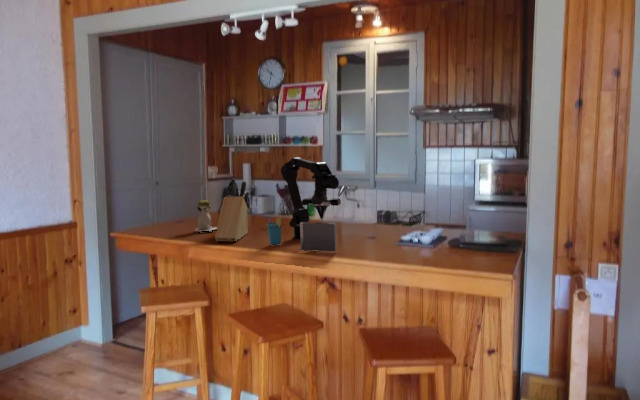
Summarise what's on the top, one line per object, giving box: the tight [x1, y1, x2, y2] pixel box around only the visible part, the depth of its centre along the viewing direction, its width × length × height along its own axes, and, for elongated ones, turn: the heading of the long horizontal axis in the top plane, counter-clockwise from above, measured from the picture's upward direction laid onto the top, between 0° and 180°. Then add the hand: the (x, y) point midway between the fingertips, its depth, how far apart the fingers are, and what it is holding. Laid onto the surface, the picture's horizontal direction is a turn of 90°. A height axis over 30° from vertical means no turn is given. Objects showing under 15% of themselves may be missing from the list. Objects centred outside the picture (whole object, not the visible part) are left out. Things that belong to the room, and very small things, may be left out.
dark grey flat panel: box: [300, 222, 337, 252], centre depth 220 cm, size 2×17×12 cm, turn 70°
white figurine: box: [194, 199, 217, 232], centre depth 280 cm, size 12×13×18 cm
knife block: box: [214, 178, 251, 242], centre depth 262 cm, size 11×35×31 cm, turn 174°
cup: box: [261, 214, 283, 245], centre depth 239 cm, size 14×8×15 cm, turn 52°
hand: (321, 219), depth 239 cm, fingers closed
